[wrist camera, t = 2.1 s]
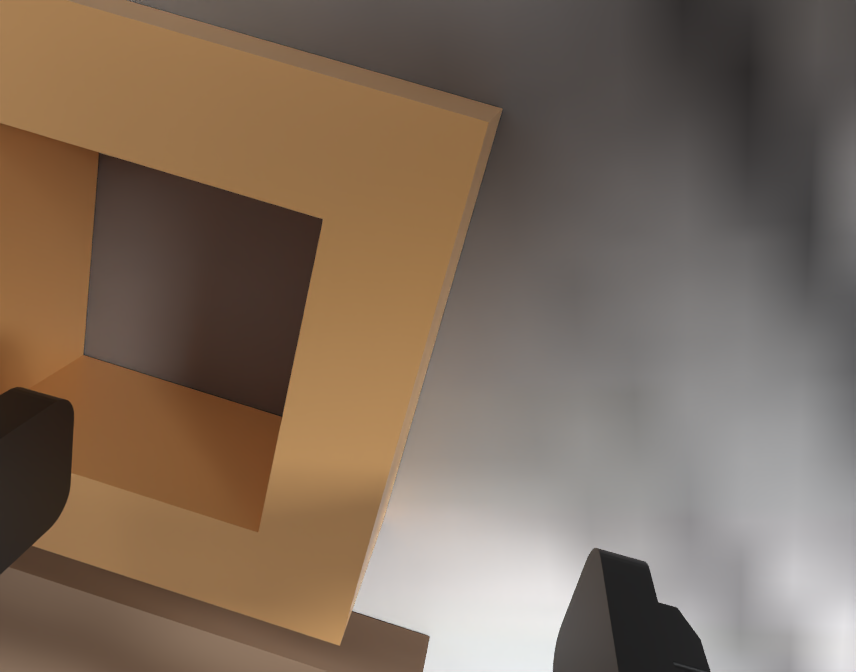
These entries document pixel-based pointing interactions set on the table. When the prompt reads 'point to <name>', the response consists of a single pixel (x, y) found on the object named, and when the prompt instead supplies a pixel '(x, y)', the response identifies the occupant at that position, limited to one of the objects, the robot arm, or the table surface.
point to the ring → (323, 315)
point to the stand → (166, 629)
